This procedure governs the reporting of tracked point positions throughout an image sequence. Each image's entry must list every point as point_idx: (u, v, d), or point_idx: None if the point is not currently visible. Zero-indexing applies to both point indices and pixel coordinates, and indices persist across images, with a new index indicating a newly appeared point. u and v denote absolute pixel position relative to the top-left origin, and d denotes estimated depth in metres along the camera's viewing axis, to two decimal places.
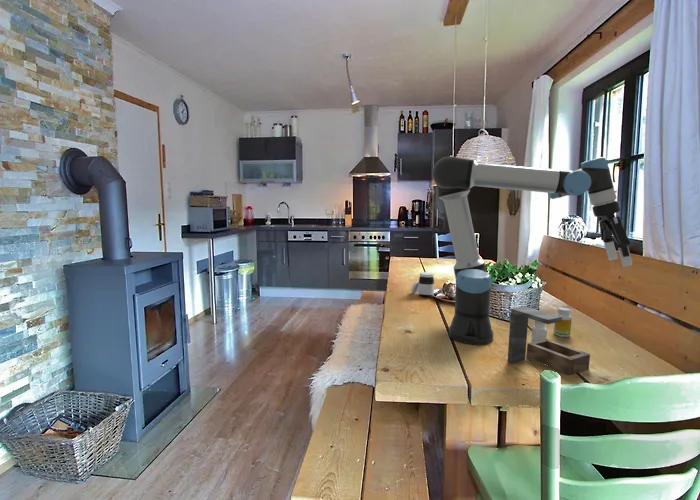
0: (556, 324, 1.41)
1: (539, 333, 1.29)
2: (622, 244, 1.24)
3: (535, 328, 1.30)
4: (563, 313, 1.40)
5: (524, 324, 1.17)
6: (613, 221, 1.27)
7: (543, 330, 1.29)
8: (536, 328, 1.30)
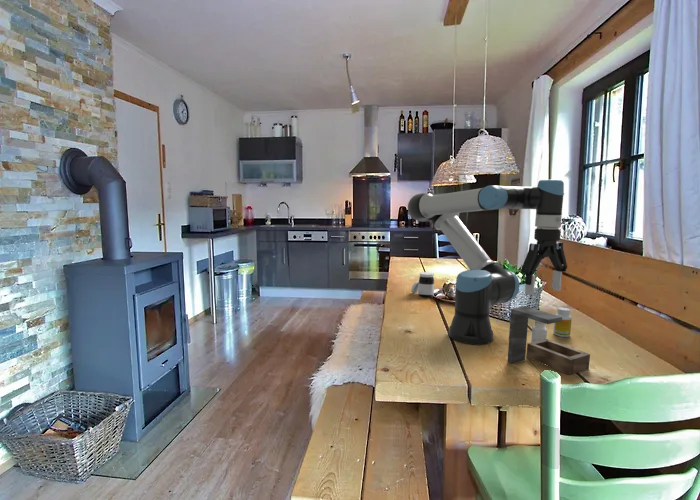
0: (556, 324, 1.41)
1: (539, 333, 1.29)
2: (521, 270, 1.24)
3: (535, 328, 1.30)
4: (563, 313, 1.40)
5: (524, 324, 1.17)
6: (530, 247, 1.25)
7: (543, 330, 1.29)
8: (536, 328, 1.30)
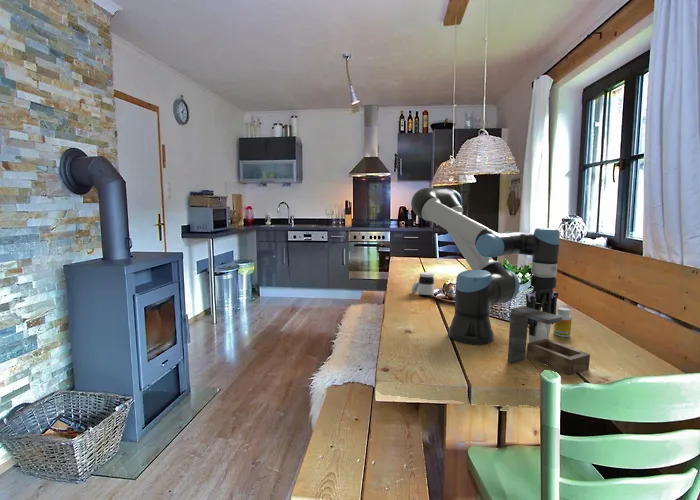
0: (556, 324, 1.41)
1: (539, 333, 1.29)
2: None
3: None
4: (563, 313, 1.40)
5: (524, 324, 1.17)
6: (527, 299, 1.27)
7: (543, 330, 1.29)
8: None
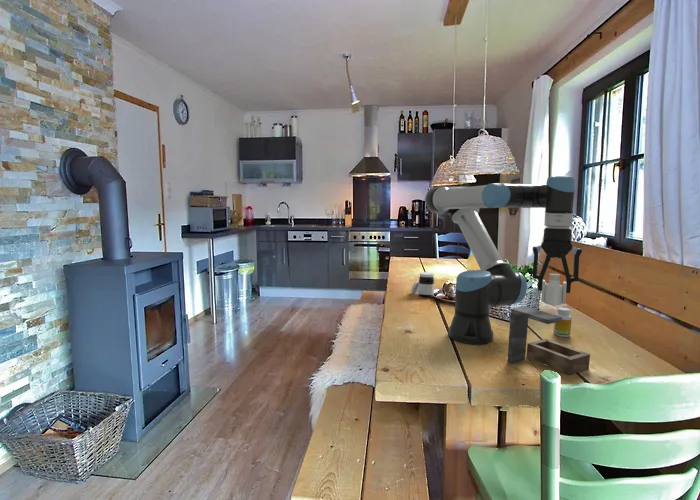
0: (556, 324, 1.41)
1: (548, 289, 1.21)
2: None
3: (546, 284, 1.22)
4: (563, 313, 1.40)
5: (524, 324, 1.17)
6: None
7: (551, 286, 1.20)
8: (547, 284, 1.22)
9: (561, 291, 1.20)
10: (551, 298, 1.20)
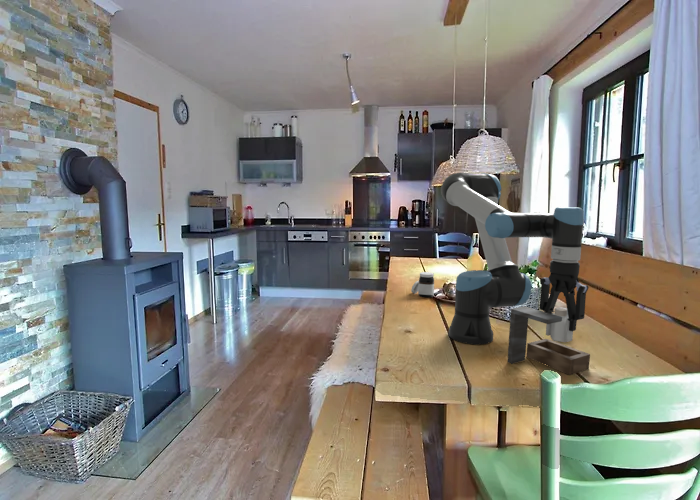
0: None
1: (552, 323, 1.17)
2: None
3: None
4: None
5: (524, 324, 1.17)
6: None
7: None
8: None
9: None
10: (553, 333, 1.16)
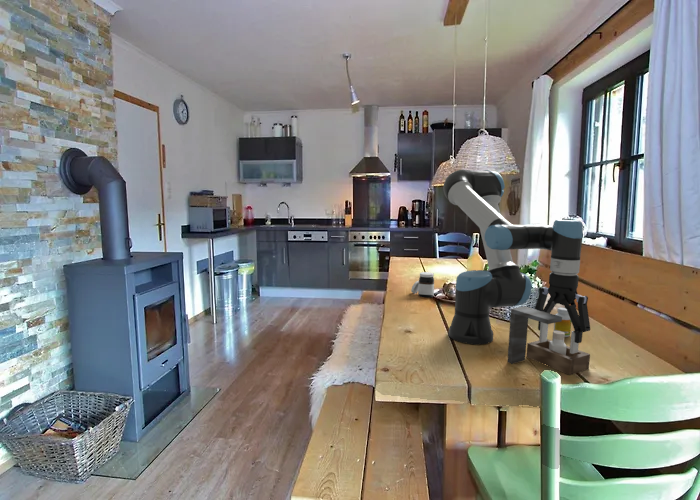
0: (556, 324, 1.41)
1: (550, 346, 1.18)
2: None
3: None
4: (563, 313, 1.40)
5: (524, 324, 1.17)
6: None
7: (551, 344, 1.17)
8: (551, 341, 1.18)
9: (562, 351, 1.15)
10: None
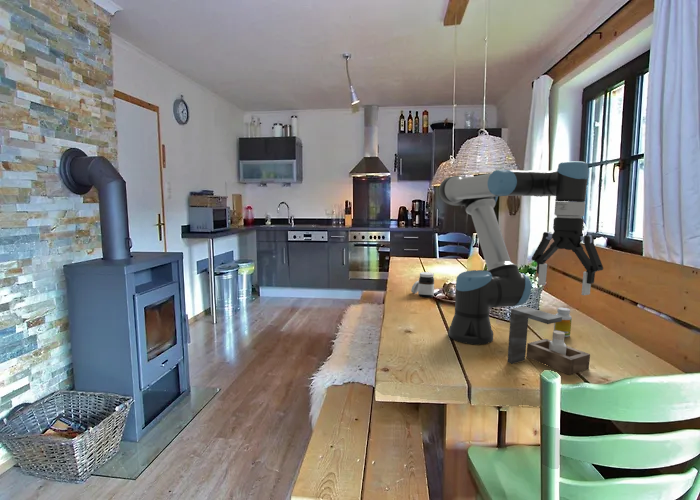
0: (556, 324, 1.41)
1: (550, 346, 1.18)
2: None
3: None
4: (563, 313, 1.40)
5: (524, 324, 1.17)
6: None
7: (551, 344, 1.17)
8: (551, 341, 1.18)
9: (562, 351, 1.15)
10: None
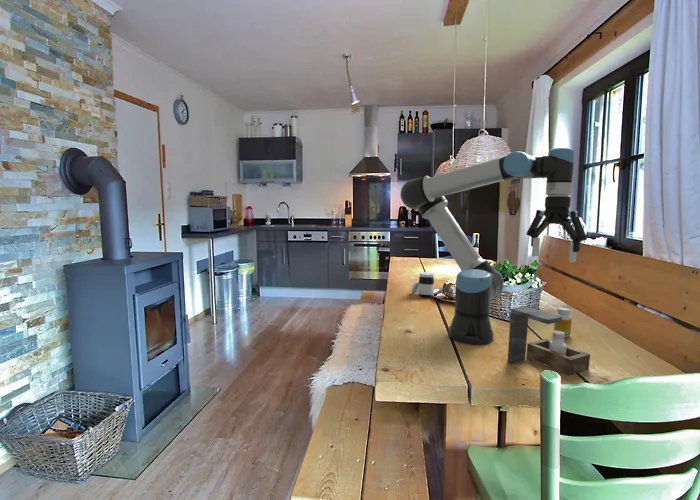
0: (556, 324, 1.41)
1: (550, 346, 1.18)
2: None
3: None
4: (563, 313, 1.40)
5: (524, 324, 1.17)
6: None
7: (551, 344, 1.17)
8: (551, 341, 1.18)
9: (562, 351, 1.15)
10: None
